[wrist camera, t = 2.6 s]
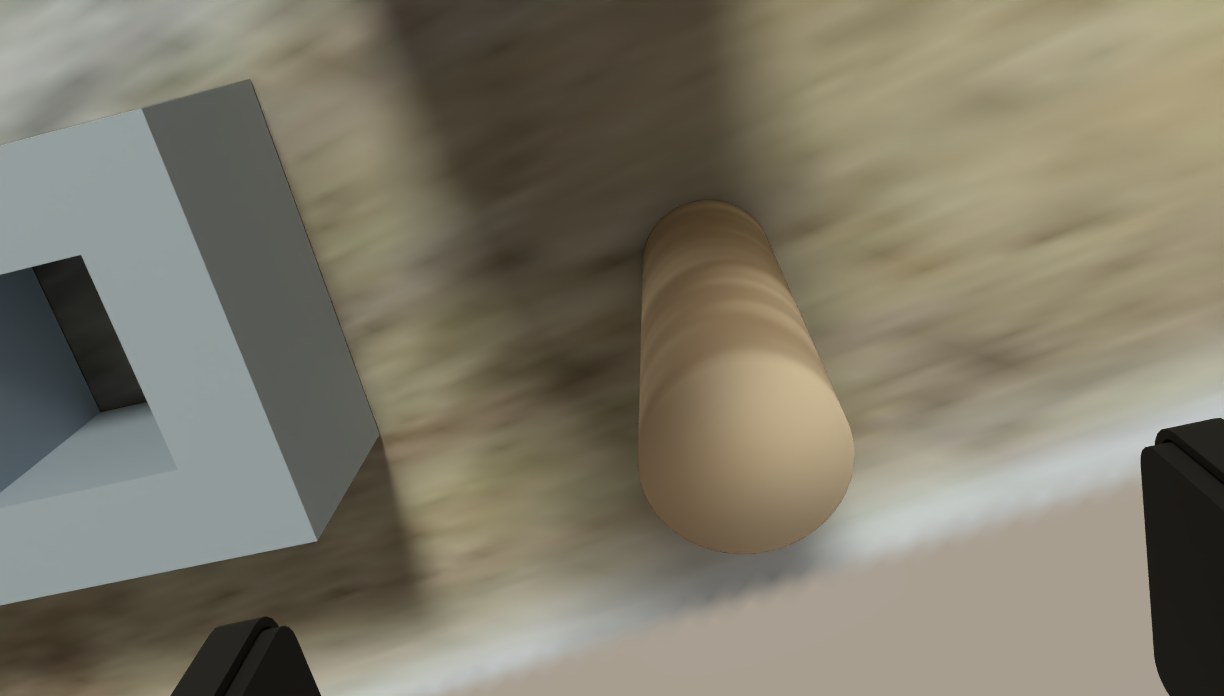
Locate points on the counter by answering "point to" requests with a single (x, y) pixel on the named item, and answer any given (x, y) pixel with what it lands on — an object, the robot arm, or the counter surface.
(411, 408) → the counter surface
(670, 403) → the peg
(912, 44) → the counter surface
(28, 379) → the hole block
